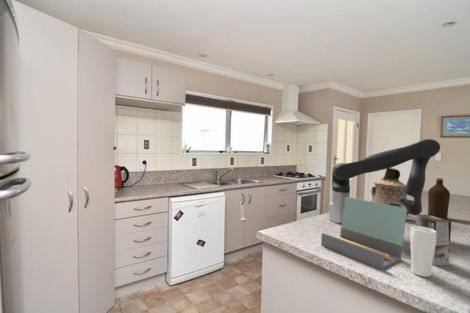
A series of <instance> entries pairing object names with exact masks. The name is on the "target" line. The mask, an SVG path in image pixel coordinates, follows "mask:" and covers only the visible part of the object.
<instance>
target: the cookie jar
mask: <svg viewBox="0 0 470 313" xmlns="http://www.w3.org/2000/svg"><path fill="white" fill-rule="evenodd" d="M400 177H401V171H400V170H399V169H397V168H394V167H391V168H387V169H385V172H384V176H383V177H381V178H380V179H379V180H378V179H377V180H375V181H374V183H373V184H374V186H372V187H371V189H370V193H371V196H372V197H371V202H375V203H381V204H388V203H392V202H397V201H398V200H399V199H401V198H403V199H408V197H407V194H406V193H405V188H406V185H407V184H405V183H403V182H401V181H400V180H399V179H400ZM405 221H412V222H416V216H415V215H411V214H408V215H406V220H405Z"/></svg>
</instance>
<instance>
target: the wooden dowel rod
mask: <svg viewBox="0 0 470 313" xmlns="http://www.w3.org/2000/svg"><path fill="white" fill-rule="evenodd" d="M335 237H336V238H339V239H342V240H344V241H347V242H350V243H353V244H356V245H358V246H361V247H364V248H367V249H370V250H372V251H375V252H378V253H381V254H384V259H386V260H388V259H389V258H390V257H389V255H388V254H385V253H383V252H380V251H377V250H374V249H371V248H368V247H366V246H363V245H360V244H357V243H354V242H351V241H349V240H346V239H343V238H340V236H335Z"/></svg>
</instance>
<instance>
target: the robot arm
mask: <svg viewBox="0 0 470 313" xmlns="http://www.w3.org/2000/svg"><path fill="white" fill-rule="evenodd" d="M440 150H441V144H440V142H438V141H437V140H435V139H431V138H427V139H422V140H420V141H417V142H415V143H412V144H410V145H405V146H402V147H398V148H393V149H389V150H384V151H381V152H377V153H374V154H371V155H368V156H367V157H365V158H362V159H360V160H358V161H352V162H347V163H343V162H339V163H337V164H335V165H334V166H333V168H332V174H331V177H332V178H331V187H332V191H331V202H330V204H329V218H328V219H329V221H331V222H332V223H337V224H341V225H342V220H343V212H344V204H345V197H350V198H351V186H350V179H352V178H354V177H358V176H360V175H364V174H370V173H375V172H378V171H384V170H386V169H387V168H391V167H392V168H394V167H396V166H399V165H402V164H404V163H406V162H409V161H411V160H412V162H411V167H410V173H409V175H408V179H407V181H406V184H405V185H406V188H405V193H406V195H408V196H410V197H412V198H413V200H412V199H408V198H407V199H403V198H401V199H399V200H398V201H397V202H392V203H388V204H386V205H391V206H396V207H401V208H406V209H407V212H406V215H411V216H415V217H416V215H421V213H422V211H423V206H422V203H423V202H422V195H423V190H424V187H425V184H426V169H427V165H428V163H429V161H430V160H431V158H432V157H434V156H436V155H437V154H439V153H440Z"/></svg>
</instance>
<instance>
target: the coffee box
mask: <svg viewBox="0 0 470 313" xmlns="http://www.w3.org/2000/svg"><path fill="white" fill-rule="evenodd" d="M415 217H416V221H415V226H421V227H426V228H430V229H433V230H435V231H436V247H435V252H434V258H433V264H432V266H449V265H450V250H451V232H452V221H451V220H448V219H445V220H444V219H441V218H438V217H435V216H431V215H428V214H419V215H416V216H415Z"/></svg>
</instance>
